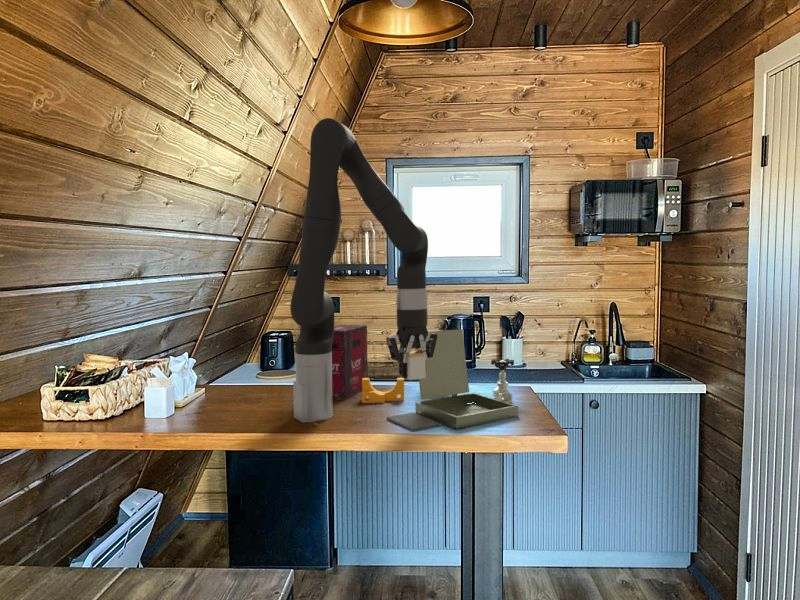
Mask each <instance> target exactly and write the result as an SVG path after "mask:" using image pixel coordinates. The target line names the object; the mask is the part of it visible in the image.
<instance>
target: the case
mask: <svg viewBox="0 0 800 600" xmlns="http://www.w3.org/2000/svg"><path fill="white" fill-rule="evenodd" d="M472 402H474V403H472ZM414 403H415V407H414V408H415V413H416V414H418V415H421V416H423V417H426V418H428V419H430V420H433V421H435V422H438V423H440V425H443V426H446V427H448V428H451V429H453V430H456V431H458V430H462V429H463V430H464V429H468V428H474V427H478V426H481V425H486V424H491V423H495V422H499V421H504V420H507V419H509V420H510V419H512V418H517V417H519V405H517V404H513V403H511V402H510V403H507V402H503V401H500V400H497V399H496V398H493V397H489V396H486V395H483V394H480V393H476V392H468V393H462V394H455V395H449V396H443V397H437V398H431V399H425V400H420V401H416V402H414ZM467 403H472V404H467ZM475 403H476V404H475Z"/></svg>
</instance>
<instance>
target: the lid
mask: <svg viewBox="0 0 800 600" xmlns="http://www.w3.org/2000/svg"><path fill="white" fill-rule="evenodd" d="M428 333H434V334H437V336H438V337H437V341H436V346H435V350H434V354H433V357H430V358H428V359H427V360H426V378H422V379H418V382H419V391H420V392H419V393H420V401H425V400H431V399H437V398H443V397H450V396H452V395H455V394H457V395H462V394H468V393H470V387H469V376H468V368H467V360H466V350H465V341H464V339H465V338H464V332H463V328H461V329H459V328H458V329H448V330H435V331H428ZM426 342H427V340H426V339H425V341H424V343H425V347H426Z"/></svg>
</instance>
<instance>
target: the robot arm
mask: <svg viewBox="0 0 800 600" xmlns="http://www.w3.org/2000/svg"><path fill="white" fill-rule="evenodd" d="M339 169H341V170H342V171H343V172H344V173H345V174H346V175H347V176H348V177H349V179H350V180H351V181H352V183H353V185H354V186H355V188H356V190H357V192H358V194H359V196H360V198H361V199H362V202H364V204H365V205H366V207H367V208H368V210H369V211H370V212H371V213H372V215H373V216H374V218H375V219H376V220H377V221H378V223H380V225H381V227H382V228H383V230H384V232H385V233H386V236H387V238H388V239H389V240H390V243H392V244H393V246H394V247H395V249H397V250H398V251H399V252H400V264H399V266H398V267H397V271H396V272H397V273H396V284H397V285H396V288H397V289H396V300H395V301H396V303H395V305H396V326H397V331H396V333H395V334H394V335H393V336H387V337H386V339H385V340H386V344H387V347H388V351H389V354H390V357H391V360H393V361H396V362H397V363H398V374H399V376H400V375H401V377H400V378H404V379H405V378H407V377H408V375H407V363H406V362H407V357H408V355H409V354H410V352H412V351H411V350H413V349H414V352H420V353H424V356H425V358H426V360H427V359H428V358H430V357H433V354H434V350H435V346H436V341H437V337H438V336H437V334H434V333H428V332H429V331H428V329H427V326H428V322H429V321H428V295H427V274H426V267H427V261H428V251H429V240H428V239H429V238H428V234H427V233H426V231H425V229H423V228H422V227H421V226H419V225H416V224H415V223H414V222H413V221H412V220H411V219H410V217H409V216H408V215H407V213H406V212H405V207H404V206H403V205H402V203H401V201H400V200H399V199H398V197H397V196H396V195H395V193H393V191H392V190H391V188H389V186H388V185H387V184H386V183H385V181H384V180H383V179H382V178H381V177H380V175H379V174H378V172H376V171H375V169H374V168H373V166H372V165H371V163H370V162H369V161H368V158H367V157H366V155H365V154H364V152H363V151H362V148H361V147H360V145H359V143H358V141H357V140H356V138H355V135H354V133H353V132H352V131H351V129H350V128H349V127H347V125H345V124H343V123H341V122H340V121H338V120H336V119H334V118H330V117H325V118H322V119H320V120H319V121H318V122H317V123H316V124H315V125H314V128H313V129H312V132H311V135H310V152H309V177H308V185H307V190H306V191H307V192H306V200H305V208H304V214H303V223H302V229H301V239H300V249H299V258H298V267H297V268H298V269H297V274H296V279H295V283H294V287H293V292H292V295H291V299H290V310H289V311H290V315H291V318H292V320H293V321H294V322H295V323H296V324H297V325H298V326H299V327H300V331H299V336H298V337H297V340H296V341H295V348H294V349H295V351H294V352H295V380H294V381H293V384H292V385H293V387H292V389H293V418H294V419H295V420H297V421H299V422H301V423H302V424H304V423H315V422H320V421H325V420H329V419H331V418H332V417H333V416H334V415H333V414H334V413H333V411H334V408H333V407H334V406H333V405H334V404H333V399H332V342H333V338H334V326H335V305H334V300H333V298H332V297H331V295H330V294H329V293H328V292H326V291H325V287H326V286H325V285H326V276H327V272H328V269H329V265H330V264H331V261H332V259H333V256H334V254H335V251H336V248H337V245H338V242H339V238H340V231H341V224H342V223H341V222H342V205H341V198H340V191H339V185H338V184H339V183H338V182H339V180H338V178H339ZM425 339H426V340H427V342H426V347H425V343H424V341H425ZM398 344H399V347H398Z"/></svg>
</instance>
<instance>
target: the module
mask: <svg viewBox="0 0 800 600" xmlns="http://www.w3.org/2000/svg"><path fill="white" fill-rule="evenodd" d="M406 363H407V375H408V377H407V378H404V380H405V379H406V380H409V381H412V380H419V379H422V378H426V358H425V356H424V353H420V352H416V351H411V352H410V354H409V355H408V357H407V362H406ZM399 378H402V377H401V375H400V374H399Z"/></svg>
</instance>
